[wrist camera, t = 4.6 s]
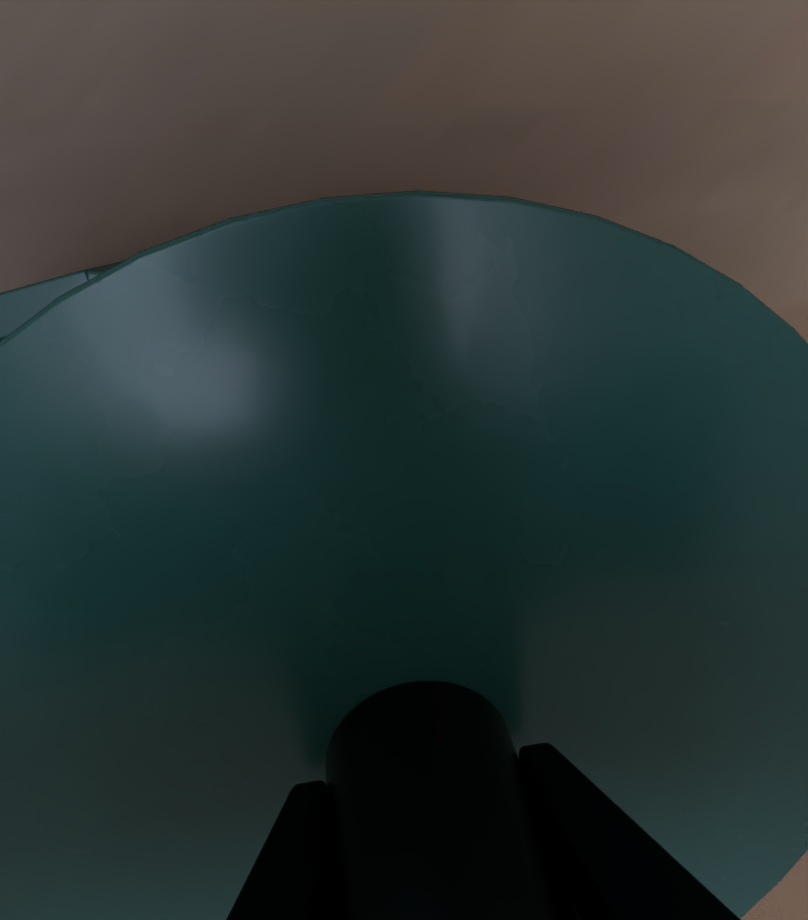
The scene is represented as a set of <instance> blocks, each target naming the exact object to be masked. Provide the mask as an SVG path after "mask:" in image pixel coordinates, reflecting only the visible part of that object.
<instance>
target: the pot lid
mask: <svg viewBox="0 0 808 920" xmlns="http://www.w3.org/2000/svg"><path fill="white" fill-rule="evenodd" d="M544 742H547V743H550V744H551V745H553V746H554V747H555V748H556V749H557V750H558V751H559V752H560V753H562V754H563V755H564V756H565V757H566V758H567V759H568V760H569V761H570V762H571V763H572V764H573V765H574V766H576V767H577V768H578V769H579V770H580V771H581V772H582V773H583V774H584V775H585V776H586V777H587V778H589V779H590V780H591V781H592V782H593V783H594V784H595V785H596V786H597V787H598V788H599V789H600V790H601V791H603V792H604V793H605V794H606V795H607V796H608V797H609V798H610V799H611V800H612V801H613V802H614V803H615V804H617V805H618V806H619V807H620V808H621V809H622V810H623V811H624V812H625V813H626V814H627V815H628V816H629V817H631V818H632V819H633V820H634V821H635V822H636V823H637V824H638V825H639V826H640V827H641V828H642V829H644V830H645V831H646V832H647V833H648V834H649V835H650V836H651V837H652V838H653V839H654V840H655V841H656V842H658V843H659V844H660V845H661V846H662V847H663V848H664V849H665V850H666V851H667V852H668V853H669V854H670V855H672V856H673V857H674V858H675V859H676V860H677V861H678V862H679V863H680V864H681V865H682V866H683V867H684V868H686V869H687V870H688V871H689V872H690V873H691V874H692V875H693V876H694V877H695V878H696V879H697V880H699V881H700V882H701V883H702V884H703V885H704V886H705V887H706V888H707V889H708V890H709V891H710V892H711V893H713V894H714V895H715V896H716V897H717V898H718V899H719V900H720V901H721V902H722V903H723V904H724V905H725V906H727V907H728V908H729V909H730V910H731V911H732V912H733V913H734V914H735V915H736V916H737V917H738V918H739V919H740V918H741V917H743V916H744V915H745V914H746V913H747V912H748V911H749V910H750V909H751V908H752V907H753V906H754V905H756V904H757V903H758V902H759V901H760V900H761V899H762V898H763V897H764V896H765V895H766V894H767V893H768V892H769V891H770V890H771V889H772V888H773V887H774V886H776V885H777V884H778V883H779V882H780V881H781V880H782V879H783V878H784V876H785V875H786V874H787V873H788V872H789V871H790V870H791V868H792V867H793V866H794V865H795V864H796V863H797V861H798V860H799V859H800V858H801V857H802V856H803V855H804V853H805V852H806V851H807V850H808V344H807V343H806V341H805V340H804V339H803V338H802V337H801V336H800V334H799V333H798V332H797V331H796V330H795V329H794V328H793V327H792V326H790V325H789V324H788V323H787V322H786V321H784V320H783V319H782V318H781V317H779V316H778V315H777V314H776V313H775V312H773V311H772V310H771V309H770V308H769V307H767V306H766V305H765V304H764V303H762V302H761V301H760V300H759V299H758V298H756V297H755V296H754V295H753V294H752V293H750V292H749V291H748V290H747V289H745V288H744V287H743V286H742V285H741V284H739V283H737V282H736V281H734V280H732V279H731V278H729V277H727V276H725V275H724V274H722V273H720V272H718V271H717V270H715V269H713V268H712V267H710V266H708V265H706V264H705V263H703V262H701V261H700V260H698V259H696V258H694V257H693V256H691V255H689V254H687V253H686V252H684V251H682V250H681V249H679V248H677V247H675V246H674V245H671V244H669V243H666V242H663V241H661V240H658V239H656V238H653V237H650V236H648V235H645V234H643V233H640V232H637V231H635V230H632V229H630V228H627V227H624V226H622V225H619V224H617V223H614V222H612V221H609V220H606V219H604V218H601V217H599V216H596V215H591V214H587V213H582V212H577V211H573V210H568V209H564V208H559V207H555V206H550V205H546V204H541V203H536V202H532V201H527V200H523V199H518V198H514V197H506V196H491V195H477V194H462V193H448V192H433V191H405V192H392V193H378V194H365V195H351V196H338V197H325V198H320V199H315V200H311V201H306V202H301V203H297V204H292V205H288V206H283V207H279V208H274V209H270V210H265V211H260V212H256V213H251V214H247V215H242V216H238V217H233V218H229V219H226V220H224V221H221V222H218V223H216V224H213V225H210V226H208V227H205V228H202V229H200V230H197V231H194V232H192V233H189V234H186V235H184V236H181V237H178V238H176V239H173V240H170V241H168V242H165V243H162V244H160V245H157V246H154V247H152V248H149V249H146V250H144V251H141V252H139V253H137V254H135V255H133V256H132V257H130V258H128V259H126V260H124V261H123V262H121V263H119V264H117V265H115V266H113V267H112V268H110V269H108V270H106V271H104V272H103V273H101V274H99V275H97V276H95V277H94V278H92V279H90V280H88V281H86V282H84V283H83V284H81V285H79V286H77V287H75V288H74V289H72V290H70V291H68V292H66V293H65V294H63V295H61V296H59V297H57V298H56V299H55V300H53V301H52V302H51V303H50V304H48V305H47V306H46V307H44V308H43V309H42V310H40V311H39V312H38V313H36V314H35V315H34V316H33V317H31V318H30V319H29V320H27V321H26V322H25V323H23V324H22V325H21V326H20V327H18V328H17V329H16V330H14V331H13V332H12V333H10V334H9V335H8V336H7V337H5V338H4V339H3V340H1V341H0V920H226V919H227V917H228V915H229V913H230V911H231V909H232V907H233V905H234V903H235V901H236V899H237V897H238V895H239V893H240V891H241V889H242V887H243V885H244V883H245V881H246V879H247V877H248V875H249V873H250V871H251V869H252V867H253V865H254V863H255V861H256V859H257V857H258V855H259V853H260V851H261V849H262V847H263V845H264V843H265V841H266V839H267V837H268V835H269V833H270V831H271V829H272V827H273V825H274V823H275V821H276V819H277V817H278V815H279V813H280V811H281V809H282V807H283V805H284V803H285V801H286V799H287V797H288V795H289V793H290V791H291V789H292V788H293V787H294V786H295V785H296V784H300V783H306V782H312V781H318V780H321V781H323V782H325V784H326V787H327V920H577V918H576V915H575V912H574V909H573V907H572V904H571V901H570V898H569V896H568V893H567V890H566V887H565V885H564V882H563V879H562V876H561V874H560V871H559V868H558V865H557V863H556V860H555V857H554V854H553V852H552V849H551V846H550V843H549V841H548V838H547V835H546V832H545V830H544V827H543V824H542V821H541V819H540V816H539V813H538V810H537V808H536V805H535V802H534V799H533V797H532V794H531V791H530V788H529V786H528V783H527V780H526V777H525V775H524V772H523V769H522V766H521V764H520V761H519V751H520V748H521V747H523V746H526V745H532V744H538V743H544Z"/></svg>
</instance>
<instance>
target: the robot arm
mask: <svg viewBox="0 0 808 920" xmlns="http://www.w3.org/2000/svg"><path fill="white" fill-rule="evenodd" d="M519 761H520V764H521V766H522V769H523V772H524V775H525V777H526V780H527V783H528V786H529V788H530V791H531V794H532V797H533V799H534V802H535V805H536V808H537V810H538V813H539V816H540V819H541V821H542V824H543V827H544V830H545V832H546V835H547V838H548V841H549V843H550V846H551V849H552V852H553V854H554V857H555V860H556V863H557V865H558V868H559V871H560V874H561V876H562V879H563V882H564V885H565V887H566V890H567V893H568V896H569V898H570V901H571V904H572V907H573V909H574V912H575V915H576V918H577V920H741V919H739V918H738V917H737V916H736V915H735V914H734V913H733V912H732V911H731V910H730V909H729V908H728V907H727V906H725V905H724V904H723V903H722V902H721V901H720V900H719V899H718V898H717V897H716V896H715V895H714V894H713V893H711V892H710V891H709V890H708V889H707V888H706V887H705V886H704V885H703V884H702V883H701V882H700V881H699V880H697V879H696V878H695V877H694V876H693V875H692V874H691V873H690V872H689V871H688V870H687V869H686V868H684V867H683V866H682V865H681V864H680V863H679V862H678V861H677V860H676V859H675V858H674V857H673V856H672V855H670V854H669V853H668V852H667V851H666V850H665V849H664V848H663V847H662V846H661V845H660V844H659V843H658V842H656V841H655V840H654V839H653V838H652V837H651V836H650V835H649V834H648V833H647V832H646V831H645V830H644V829H642V828H641V827H640V826H639V825H638V824H637V823H636V822H635V821H634V820H633V819H632V818H631V817H629V816H628V815H627V814H626V813H625V812H624V811H623V810H622V809H621V808H620V807H619V806H618V805H617V804H615V803H614V802H613V801H612V800H611V799H610V798H609V797H608V796H607V795H606V794H605V793H604V792H603V791H601V790H600V789H599V788H598V787H597V786H596V785H595V784H594V783H593V782H592V781H591V780H590V779H589V778H587V777H586V776H585V775H584V774H583V773H582V772H581V771H580V770H579V769H578V768H577V767H576V766H574V765H573V764H572V763H571V762H570V761H569V760H568V759H567V758H566V757H565V756H564V755H563V754H562V753H560V752H559V751H558V750H557V749H556V748H555V747H554V746H553V745H551V744H550V743H547V742H544V743H538V744H532V745H526V746H523V747H521V748H520V751H519ZM226 920H327V787H326V784H325V782H323V781H321V780H318V781H312V782H306V783H300V784H296V785H295V786H294V787H293V788H292V789H291V791H290V793H289V795H288V797H287V799H286V801H285V803H284V805H283V807H282V809H281V811H280V813H279V815H278V817H277V819H276V821H275V823H274V825H273V827H272V829H271V831H270V833H269V835H268V837H267V839H266V841H265V843H264V845H263V847H262V849H261V851H260V853H259V855H258V857H257V859H256V861H255V863H254V865H253V867H252V869H251V871H250V873H249V875H248V877H247V879H246V881H245V883H244V885H243V887H242V889H241V891H240V893H239V895H238V897H237V899H236V901H235V903H234V905H233V907H232V909H231V911H230V913H229V915H228V917H227V919H226Z"/></svg>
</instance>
